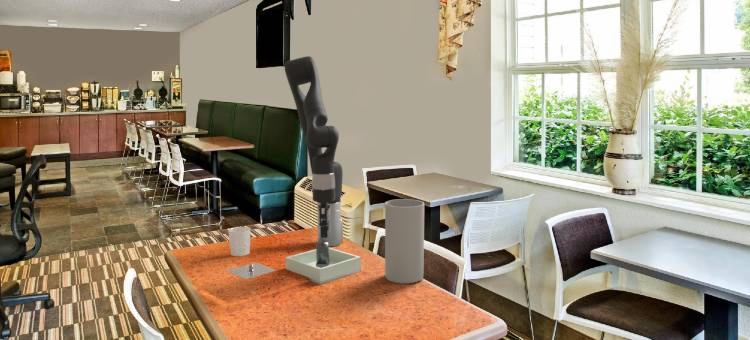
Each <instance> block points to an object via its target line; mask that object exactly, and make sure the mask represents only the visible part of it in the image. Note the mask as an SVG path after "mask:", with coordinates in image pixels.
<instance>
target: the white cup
mask: <svg viewBox="0 0 750 340" xmlns="http://www.w3.org/2000/svg"><path fill="white" fill-rule="evenodd" d="M228 240H229V242H228V243H229V247H230V248H229V249H230V250H229V251H230V255H231V256H233V257H243V256H244V257H245V256H247V255H250V252H251V251H250V248H251V228H250V227H247V226H246V227H245V226H237V227H236V226H235V227H231V228H229V229H228Z"/></svg>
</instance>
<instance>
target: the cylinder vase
mask: <svg viewBox="0 0 750 340" xmlns="http://www.w3.org/2000/svg"><path fill="white" fill-rule="evenodd" d="M384 204H385V206H384V209H385V212H384V215H385V216H384V220H385V221H384V222H385V223H384V229H385V230H384V233H385V234H384V250H385V251H384V267H385V268H384V276H385V279H386V280H387V281H389V282H391V283H394V284H399V285H400V284H401V285H408V284H409V283H411V284H415V282H416V283H419V282H420V281H422V280H423V279H424V262H425V261H424V256H425V252H424V251H425V250H424V249H425V202H423V201H421V200H419V199H418V200H417V199H411V198H410V199H405V198H403V199H402V198H400V199H399V198H398V199H391V200H388V201H387V200H386V201H385V202H384ZM421 279H422V280H421ZM418 281H419V282H418ZM409 285H410V284H409Z"/></svg>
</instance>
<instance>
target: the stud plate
mask: <svg viewBox="0 0 750 340" xmlns="http://www.w3.org/2000/svg"><path fill="white" fill-rule="evenodd" d="M276 271H277V270H276V269H275V268H271V267H270V266H269V267H268V266H266V265H264V264H261V263H259V262H253V263H250V264H246V265H241V266H238V267H234V268H231V269H227V270H226V272H228V273H230V274H233V275H234V276H237V277H239V278H242V279H244V280H249V279H252V278H256V277H259V276H262V275H265V274H266V275H267V274H269V273H272V272H276Z"/></svg>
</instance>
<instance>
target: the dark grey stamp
mask: <svg viewBox="0 0 750 340" xmlns="http://www.w3.org/2000/svg"><path fill="white" fill-rule="evenodd" d="M329 248H330V246H329V242H328V241H324V240H322V241H318V240H317V241H316V242H315V249H316V261H317V262H316V267H319V268H322V267H326V266H329V265H330V262H329Z"/></svg>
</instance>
